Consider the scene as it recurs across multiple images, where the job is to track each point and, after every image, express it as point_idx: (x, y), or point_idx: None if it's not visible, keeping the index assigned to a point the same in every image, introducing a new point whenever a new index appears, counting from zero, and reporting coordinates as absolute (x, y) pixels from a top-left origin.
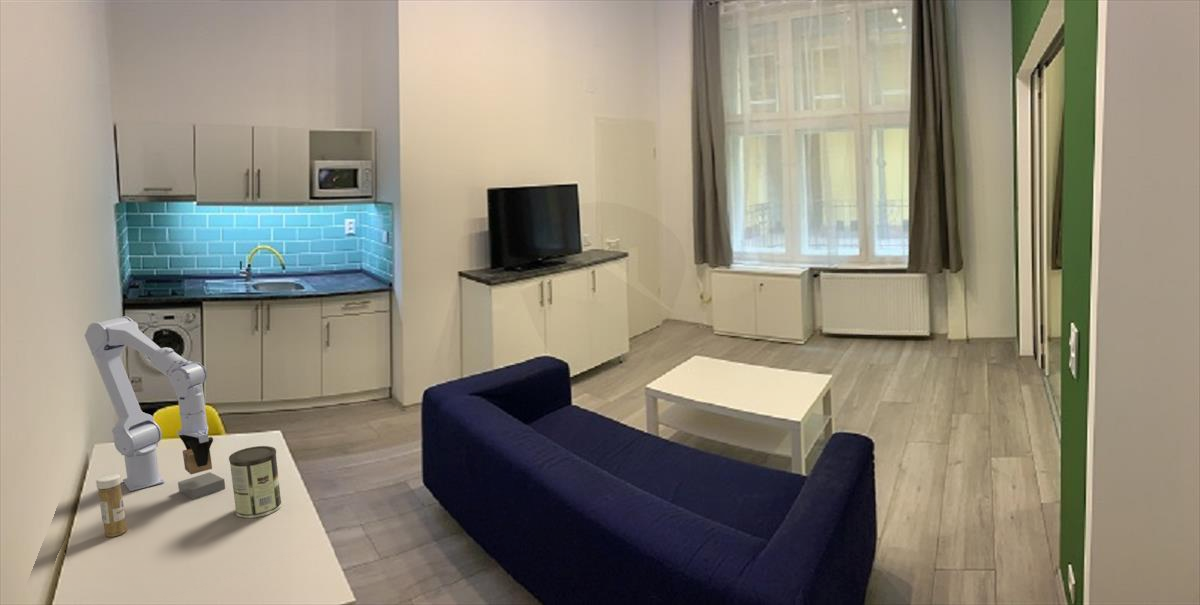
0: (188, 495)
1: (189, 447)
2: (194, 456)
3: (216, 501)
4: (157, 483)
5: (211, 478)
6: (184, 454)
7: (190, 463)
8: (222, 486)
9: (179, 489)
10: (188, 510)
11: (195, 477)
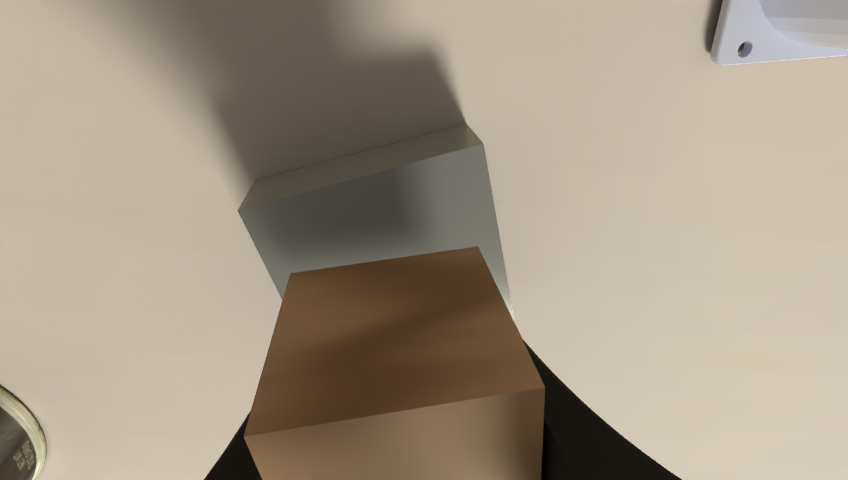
0: (321, 166)
1: (555, 468)
2: (250, 462)
3: (143, 286)
4: (723, 11)
5: None
6: (454, 374)
7: (274, 356)
8: None
9: (457, 131)
10: (49, 127)
11: (484, 256)
